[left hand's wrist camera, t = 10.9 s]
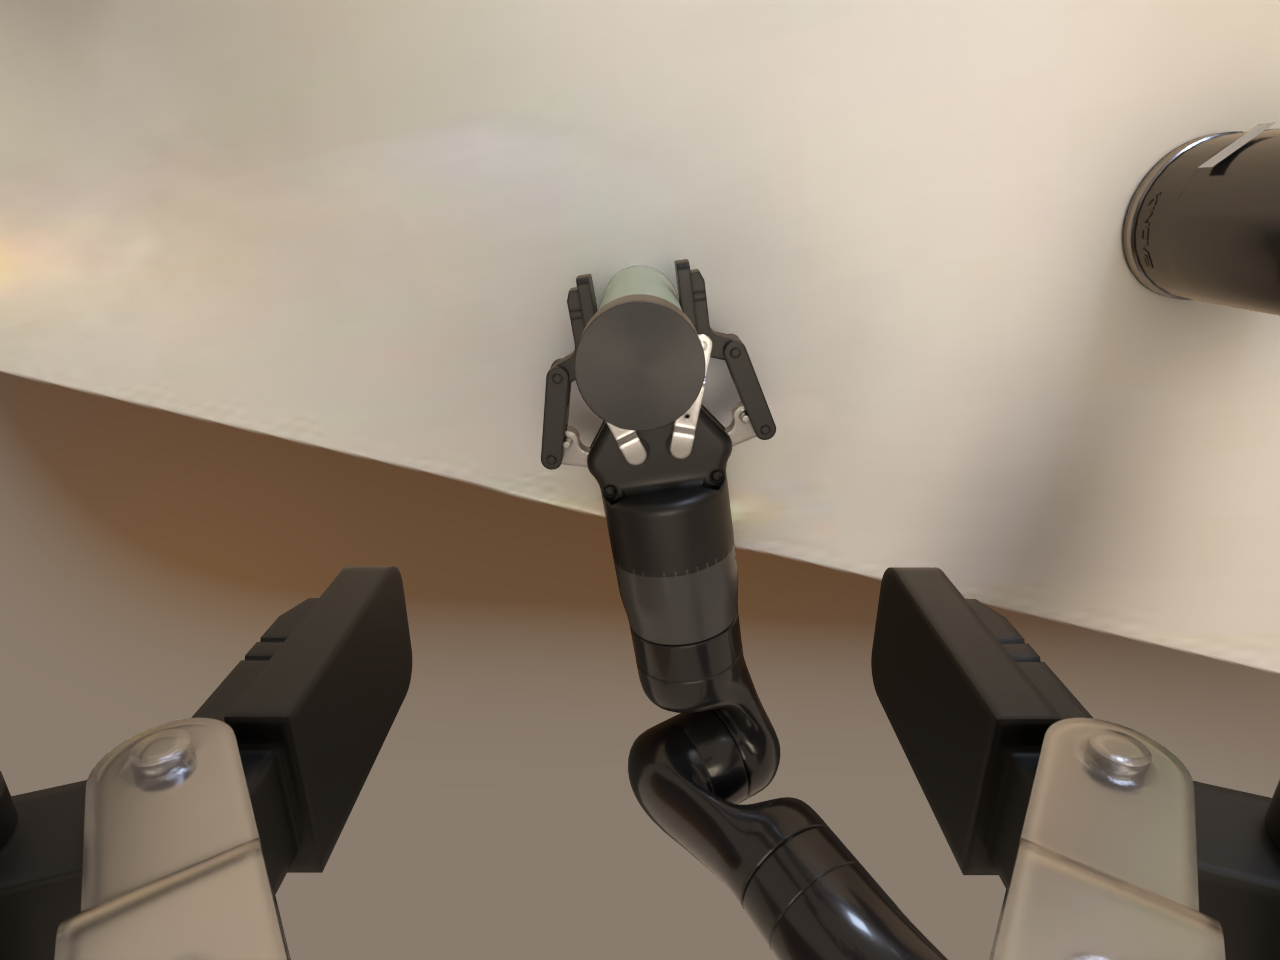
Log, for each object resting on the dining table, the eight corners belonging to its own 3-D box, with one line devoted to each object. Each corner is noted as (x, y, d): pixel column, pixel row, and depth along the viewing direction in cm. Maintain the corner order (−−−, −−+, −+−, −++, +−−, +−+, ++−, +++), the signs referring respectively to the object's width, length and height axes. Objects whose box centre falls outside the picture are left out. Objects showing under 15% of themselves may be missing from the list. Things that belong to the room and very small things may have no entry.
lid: (560, 385, 31) (554, 399, 29) (609, 272, 29) (606, 278, 27) (668, 433, 32) (670, 451, 30) (722, 326, 30) (728, 336, 28)
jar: (591, 322, 46) (563, 394, 29) (621, 252, 45) (610, 285, 28) (657, 352, 47) (667, 440, 30) (688, 285, 45) (718, 337, 28)
